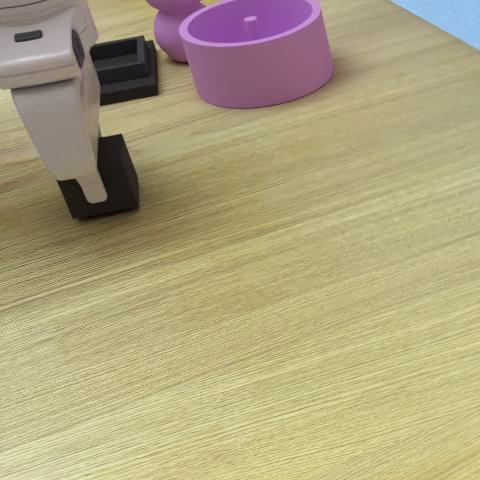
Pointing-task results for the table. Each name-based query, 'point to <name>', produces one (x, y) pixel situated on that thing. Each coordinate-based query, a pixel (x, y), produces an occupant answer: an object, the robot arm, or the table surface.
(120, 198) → the black rectangular block
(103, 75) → the base pad
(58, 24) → the robot arm
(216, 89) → the container set
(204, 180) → the table surface
